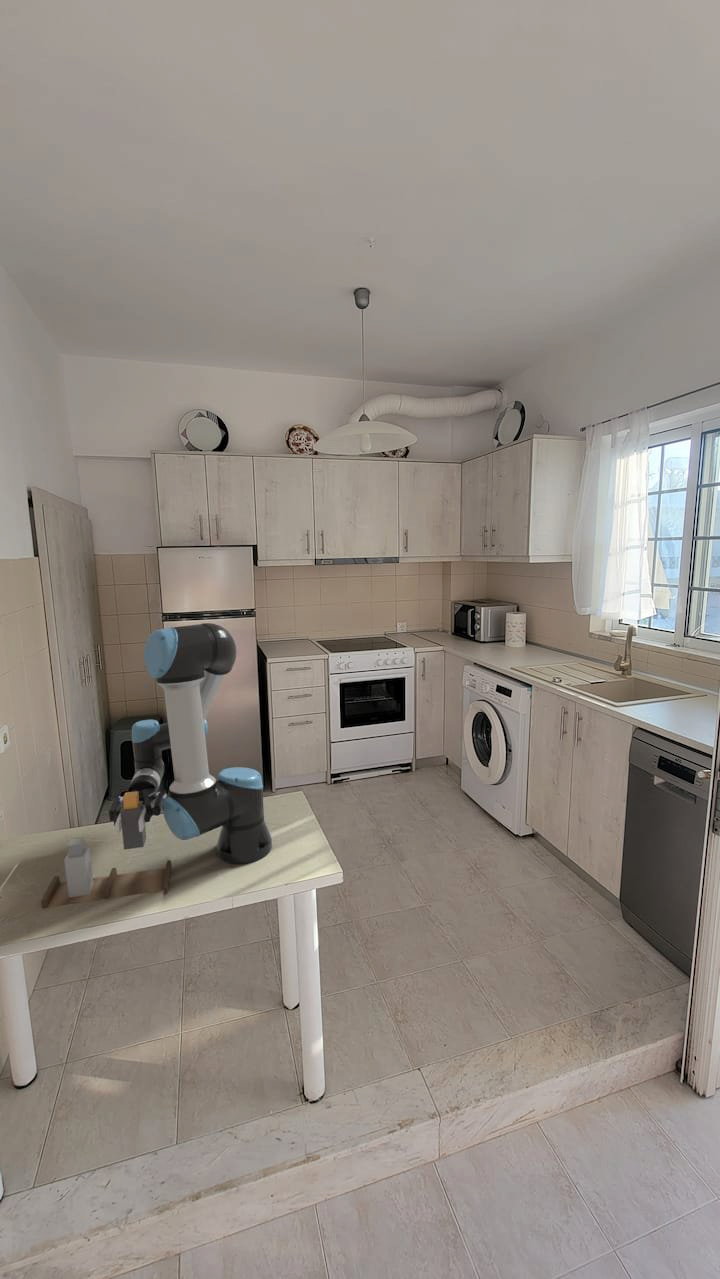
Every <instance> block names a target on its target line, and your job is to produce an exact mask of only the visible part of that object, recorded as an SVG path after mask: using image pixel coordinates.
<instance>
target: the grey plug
mask: <svg viewBox="0 0 720 1279" xmlns="http://www.w3.org/2000/svg"><path fill="white" fill-rule="evenodd" d="M66 847H67V854H66V856H65V857H64V860H63V861H64V868H65V877H66V882H67V886H68V894H69V898H70V897H77V896H84V895H89V894H90V891H91V889H92V886H93V878H94V877H93V876H94V875H93V868H92V858H91V851H90V850H91V849H90V847H89V846H88V847H86V844H85V838H84V837H82V838H74V839H70V840H69V842H68V844H67V846H66Z"/></svg>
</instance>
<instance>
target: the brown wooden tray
mask: <svg viewBox="0 0 720 1279" xmlns="http://www.w3.org/2000/svg"><path fill="white" fill-rule="evenodd" d="M172 867H173V866H172V859H168V860H166V865H165V867H163V868H162V867H161V868H156V869H155V868H154V869H149V870H142V871H134V872H133V871H132V872H128V873H119V874H118V871H117V867H113V868H111V869H110V872H109V875H105V876H99V877H93V886H92V889H91V891H90V894H89V895H84V896H77V897H70V898H69V894H68V886H67V881H66V882H65V881H63V882H61V880H60V875H55V876H54V877H53V879H52V880H51V883H50V884H49V886H48V888H47V889H46V892H45V893H44V895H43V897H42V899H41V907H42V909H46V908H53V907H54V908H55V907H60V906H67V905H73V904H74V905H75V904H80V903H87V902H93V901H94V902H95V901H102V900H106V899H114V898H120V897H128V896H133V895H139V894H140V895H141V894H145V893H147V894H149V893H154V892H160V891H161V892H162V891H163V893H162V894H168V893H169V888H170V883H171V882H170V881H171V877H172V873H173V868H172Z"/></svg>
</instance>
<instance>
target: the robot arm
mask: <svg viewBox="0 0 720 1279" xmlns="http://www.w3.org/2000/svg"><path fill="white" fill-rule="evenodd" d="M236 645H237V644H236V642H235V640H234V638H233V636H232V635H231V633H230V632H229V631H228V630H227V629H226V628H224V627H223V626H221V625H219V624H216V623H212V622H210V623H209V622H205V623H200V624H199V623H198V624H191V625H182V626H169V627H166V628H160V629H157V630H154V631H152V632H151V633H150V635H149V636H148V637H147V639H146V642H145V646H144V650H143V651H144V653H143V656H144V657H143V660H144V665H145V668H146V671H147V674H148V675H149V676H150V678H153V679H156V685H158V686H159V687H161V688H162V689H163V691H164V692H163V693H164V701H165V709H166V717H167V722H165V723H162V724H160V723H159V721H158V720H155V719H143V720H139V721H137V722H135V723H133V725H132V727H131V742H132V749H133V758H134V760H133V761H134V775H133V777H132V780H131V781H130V784H129V786H128V788H127V792H137V791H138V795H139V801H143V807H144V809H143V810H142V813H141V815H140V818H139V821H138V823H139V832H143V829H144V826H145V827H146V823H149V822H150V821H151V819H152V817H153V816H156V817H157V816H160V815H161V812H162V814H163V817H164V820H165V822H166V824H167V826H168V829H169V830H170V831H171V833H172V834H173V835H174V836H175V837H176V838H177V839H178V840H181V841H187V840H191V839H194V838H198V837H200V836H201V835H203V834H206V833H209V832H210V831H213V830H215V829H218V828H220V827H221V829H220V831H219V835H218V836H219V837H218V840H217V842H216V852H217V854H216V855H217V856H218V858H219V859H220V860H221V861H223V862H226V863H228V864H237V865H238V864H241V865H242V864H248V863H252V861H253V862H256V861H258V860H260V859H263V858H264V857H266V856H268V854H269V853H270V852H271V851H272V848H273V842H272V841H273V840H272V839H273V838H272V835H271V833H270V831H269V828H268V826H267V824H266V821H265V811H264V809H265V808H264V793H263V791H264V790H263V789H264V785H263V779H262V775H261V773H260V772H259V771H257V770H256V769H253V768H250V767H242V766H240V767H239V766H235V767H228V768H225V769H222V770H220V772H219V773H218V774H217V779H216V778H215V777H214V776H213V775H211V774H210V771H209V762H208V761H209V760H208V752H207V751H208V750H207V742H206V737H207V735H208V730H209V729H208V728H209V726H208V722H207V719H206V718H207V716H208V713H209V711H210V709H211V707H212V704H213V702H214V701H215V698H216V696H217V695H218V694H217V693H218V691H219V689H220V687H221V684H222V682H223V681H224V678H225V677H226V675H229V673H231V671H232V670H233V667H234V665H235V662H236V659H237V646H236ZM167 749H168V750H169V749H170V751H171V759H172V760H171V761H172V767H173V768H172V769H173V777H174V781H173V782H172V783H171V784H170V786H169V796H167V790H165V789H163V790H161V791H159V788H160V784H161V782H162V779H163V777H164V773H165V763H164V761H163V759H162V758H163V757H162V751H163V750H167ZM127 792H126V793H127ZM123 797H124V795H123V796H120V795H117V794H115V795H113V799H112V802H111V805H110V808H109V810H108V816H109V821H110V822H113V826H114V828H115V829H114V830H115V835H116V836H118V835H120V834H121V833H122V823H121V814H120V811H121V808H122V806H123V804H124V803H123ZM154 800H155V801H154ZM153 801H154V802H155V803H154V805H153V807H152V804H151V803H153Z"/></svg>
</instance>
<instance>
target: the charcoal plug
mask: <svg viewBox="0 0 720 1279" xmlns="http://www.w3.org/2000/svg"><path fill="white" fill-rule="evenodd" d="M123 796H124V797H123ZM123 796H122V797H123V803H124V804H123V803H122V805H123V806H122V805H121V806H122V808H121V811H120V814H121V823H122V829H121V833H122V843H123V850H132V849H138V848H140V849H141V848H144V847H145V844H146V840H147V831H146V825H145V826H144V829H143V832H139V823H138V821H139V818H140V815H141V813H142V810H143V809H145V807H144V805H143V801H139V795H138V791H137V792H125V793H124V794H123Z"/></svg>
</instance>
